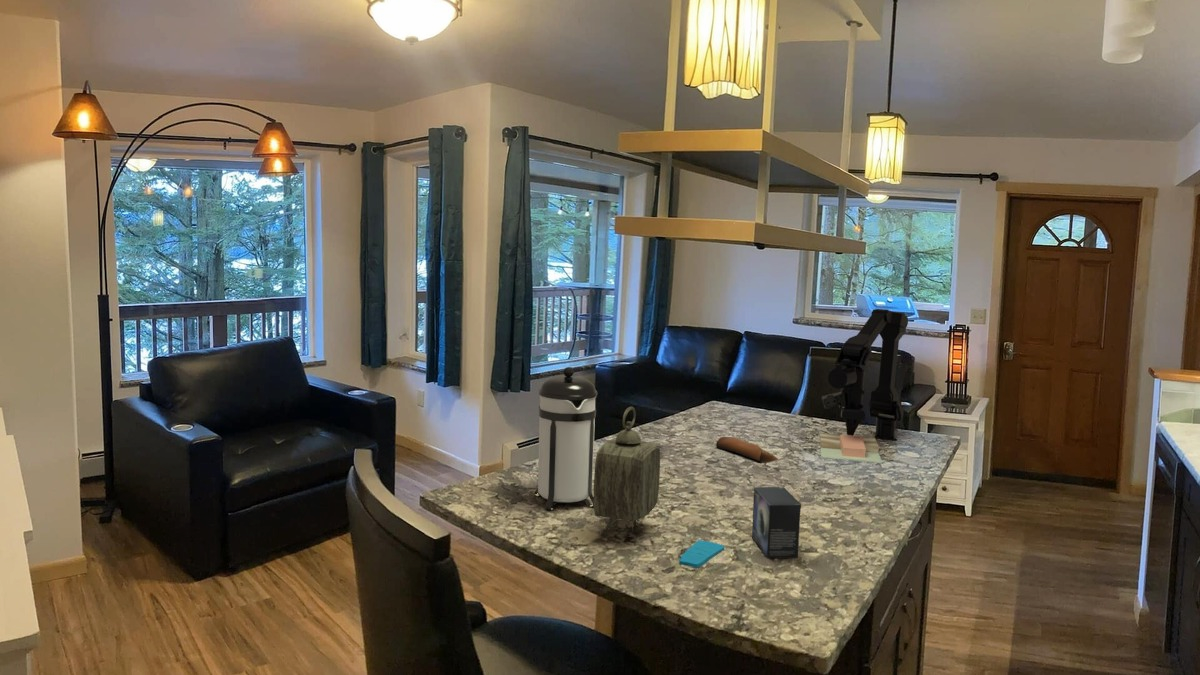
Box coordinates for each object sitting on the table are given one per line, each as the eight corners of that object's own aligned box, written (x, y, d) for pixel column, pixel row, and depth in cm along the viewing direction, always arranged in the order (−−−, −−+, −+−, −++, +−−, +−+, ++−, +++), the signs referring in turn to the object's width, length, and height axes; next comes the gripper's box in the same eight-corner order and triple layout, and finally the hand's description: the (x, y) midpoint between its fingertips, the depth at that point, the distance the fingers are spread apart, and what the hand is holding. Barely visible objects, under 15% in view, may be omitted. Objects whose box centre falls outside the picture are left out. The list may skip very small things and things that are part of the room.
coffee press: (613, 497, 174) (618, 366, 170) (575, 517, 160) (579, 374, 157) (549, 484, 182) (553, 358, 179) (508, 501, 169) (511, 366, 165)
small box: (749, 537, 152) (752, 485, 151) (781, 537, 153) (784, 486, 152) (765, 558, 142) (768, 503, 141) (799, 558, 142) (803, 503, 141)
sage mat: (820, 449, 225) (820, 447, 225) (878, 454, 221) (878, 453, 221) (821, 457, 215) (821, 456, 215) (881, 463, 211) (881, 461, 211)
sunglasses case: (782, 459, 211) (774, 440, 209) (765, 475, 208) (757, 456, 206) (737, 444, 226) (729, 426, 224) (720, 459, 223) (712, 441, 221)
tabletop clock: (617, 516, 162) (622, 399, 159) (659, 523, 158) (664, 403, 156) (591, 539, 148) (596, 411, 145) (636, 547, 145) (641, 416, 142)
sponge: (668, 558, 139) (697, 562, 136) (697, 539, 149) (725, 542, 146) (668, 566, 139) (698, 571, 136) (698, 546, 149) (726, 550, 146)
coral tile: (839, 442, 225) (840, 434, 224) (860, 443, 223) (861, 436, 223) (842, 456, 216) (843, 447, 215) (865, 457, 215) (865, 449, 214)
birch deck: (819, 439, 237) (820, 433, 237) (874, 444, 233) (874, 437, 233) (820, 448, 225) (820, 441, 225) (878, 453, 221) (878, 447, 221)
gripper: (823, 378, 234) (820, 428, 235) (825, 388, 216) (821, 442, 217) (862, 381, 231) (858, 432, 233) (867, 391, 213) (862, 446, 215)
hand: (849, 438), depth 224 cm, fingers closed
